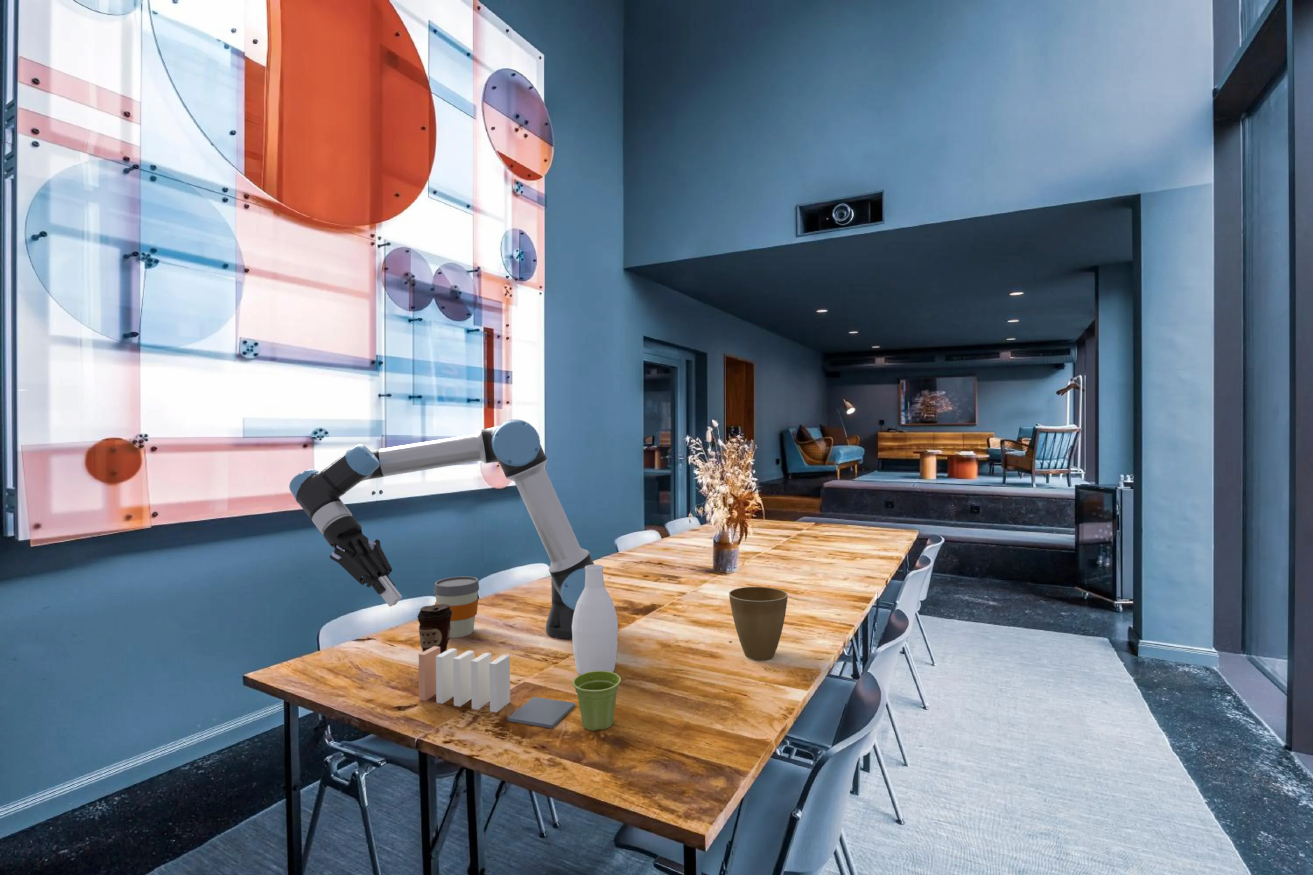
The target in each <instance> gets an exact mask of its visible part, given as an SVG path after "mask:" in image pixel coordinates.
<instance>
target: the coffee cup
mask: <svg viewBox="0 0 1313 875" xmlns="http://www.w3.org/2000/svg"><path fill="white" fill-rule="evenodd" d="M449 607H450V606H449V605H446V604H439V605H435V604H431V605H424V606H422V607H421V608H420V609H419V610H420V611H419V613H418V614H417V621H418V623H419V626H418V632H419V642H420V647H421V649H422V652H424V651H426V650H428V649H430V648H432V647H434V646H437V647H440V654H441V653H443V652H445V651H447V650H448V649H447V648H448V643H449V641H450V639H451V638H450V630H451V626H450V621H451V616H452V610H450V608H449Z"/></svg>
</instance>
